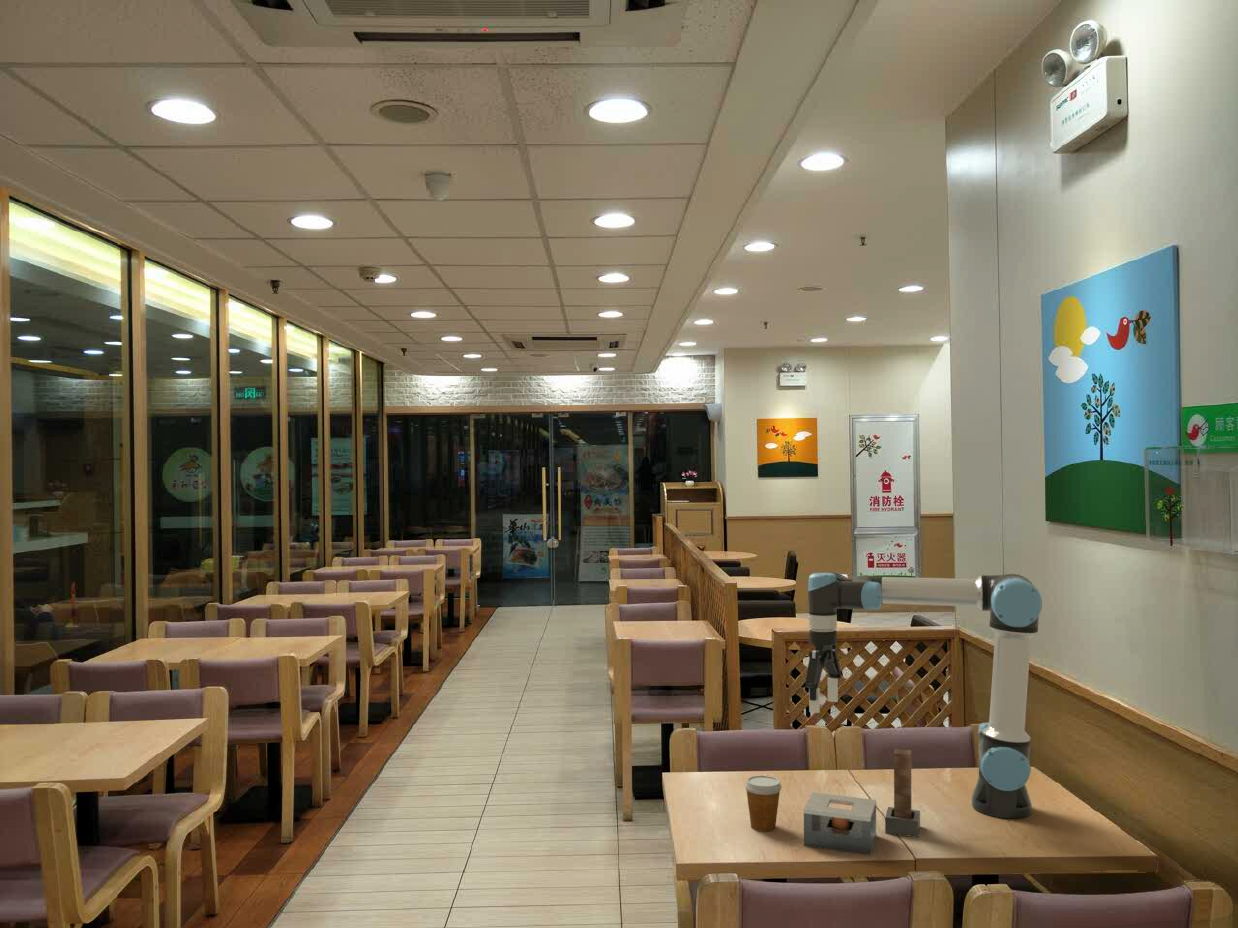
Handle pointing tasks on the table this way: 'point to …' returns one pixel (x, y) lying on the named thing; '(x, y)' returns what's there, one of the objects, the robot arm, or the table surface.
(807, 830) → the box
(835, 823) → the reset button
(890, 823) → the gray square socket
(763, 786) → the disposable coffee cup
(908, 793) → the brown wooden bar
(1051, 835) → the table surface
